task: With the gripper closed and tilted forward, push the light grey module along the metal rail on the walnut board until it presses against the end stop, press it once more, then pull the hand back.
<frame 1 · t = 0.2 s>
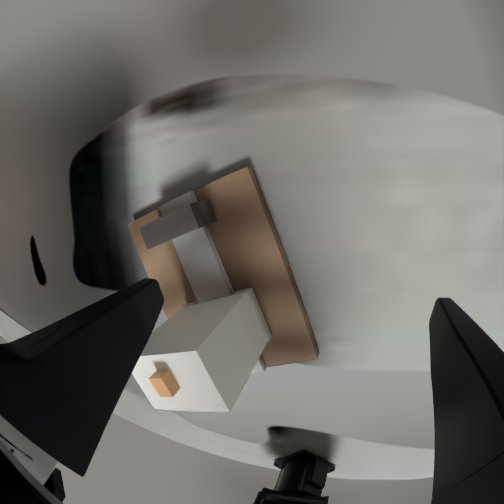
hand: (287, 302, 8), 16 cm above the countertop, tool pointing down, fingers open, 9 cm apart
rail board: (220, 285, 27), on the countertop
module: (200, 351, 21), point 7 cm above the countertop, slide at 0.0 cm
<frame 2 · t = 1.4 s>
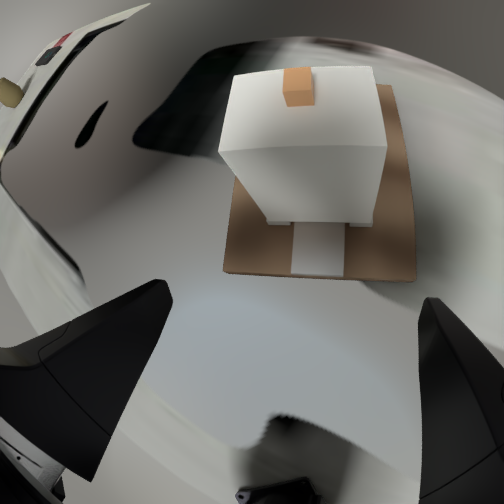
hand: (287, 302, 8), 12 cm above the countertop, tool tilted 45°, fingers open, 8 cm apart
smart home device: (49, 58, 66), on the countertop
rail board: (322, 168, 22), on the countertop
squeeze bottle: (19, 101, 60), on the countertop
module: (312, 153, 15), point 7 cm above the countertop, slide at 0.0 cm
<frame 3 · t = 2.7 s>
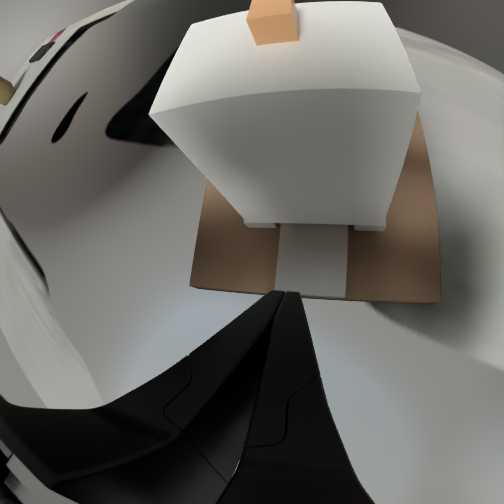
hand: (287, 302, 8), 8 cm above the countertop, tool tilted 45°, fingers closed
smart home device: (42, 54, 62), on the countertop
rail board: (319, 156, 18), on the countertop
squeeze bottle: (10, 98, 56), on the countertop
module: (303, 125, 11), point 7 cm above the countertop, slide at 0.0 cm
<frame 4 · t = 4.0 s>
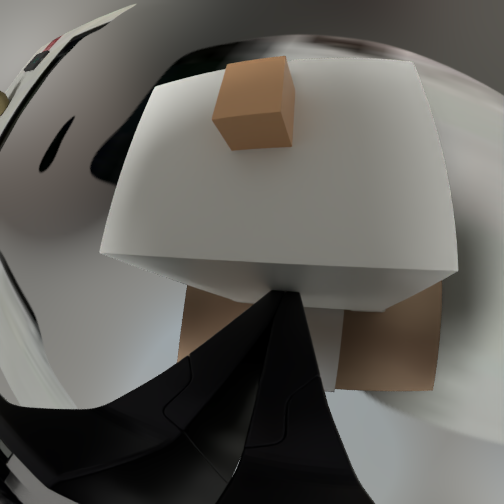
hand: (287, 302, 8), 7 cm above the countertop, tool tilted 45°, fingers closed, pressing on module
smart home device: (37, 63, 61), on the countertop
rail board: (317, 221, 16), on the countertop
squeeze bottle: (5, 109, 55), on the countertop
module: (297, 218, 9), point 7 cm above the countertop, slide at 0.4 cm, touching gripper
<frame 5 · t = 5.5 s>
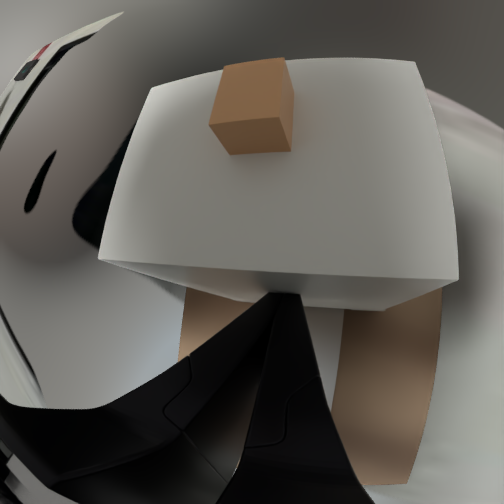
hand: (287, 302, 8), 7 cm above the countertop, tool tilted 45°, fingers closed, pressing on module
smart home device: (27, 72, 59), on the countertop
rail board: (309, 323, 15), on the countertop
module: (296, 219, 9), point 7 cm above the countertop, slide at 6.3 cm, touching gripper, rail board
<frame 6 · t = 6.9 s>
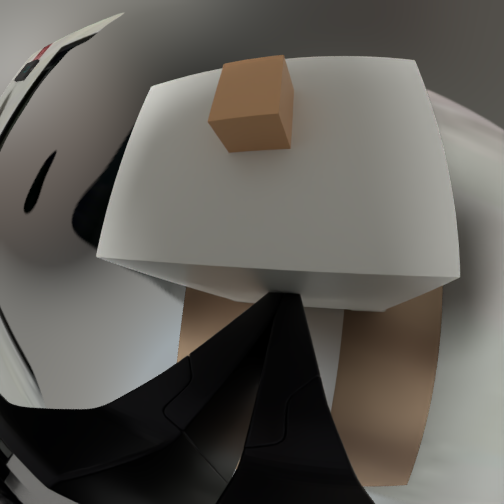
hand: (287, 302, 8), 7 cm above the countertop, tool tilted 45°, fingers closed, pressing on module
smart home device: (27, 72, 59), on the countertop
rail board: (309, 324, 15), on the countertop
module: (296, 219, 9), point 7 cm above the countertop, slide at 6.3 cm, touching gripper, rail board
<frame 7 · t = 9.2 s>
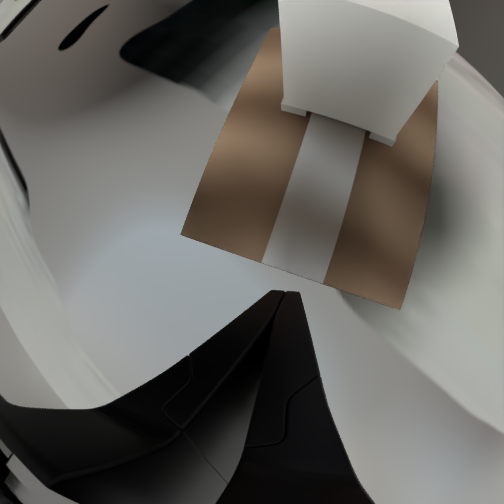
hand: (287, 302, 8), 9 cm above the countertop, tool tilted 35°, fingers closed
rail board: (332, 143, 18), on the countertop
module: (360, 44, 11), point 7 cm above the countertop, slide at 6.0 cm
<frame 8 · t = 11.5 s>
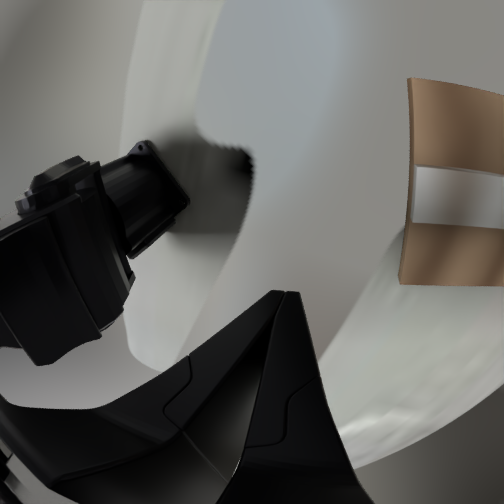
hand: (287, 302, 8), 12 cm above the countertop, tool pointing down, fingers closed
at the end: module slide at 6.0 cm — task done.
